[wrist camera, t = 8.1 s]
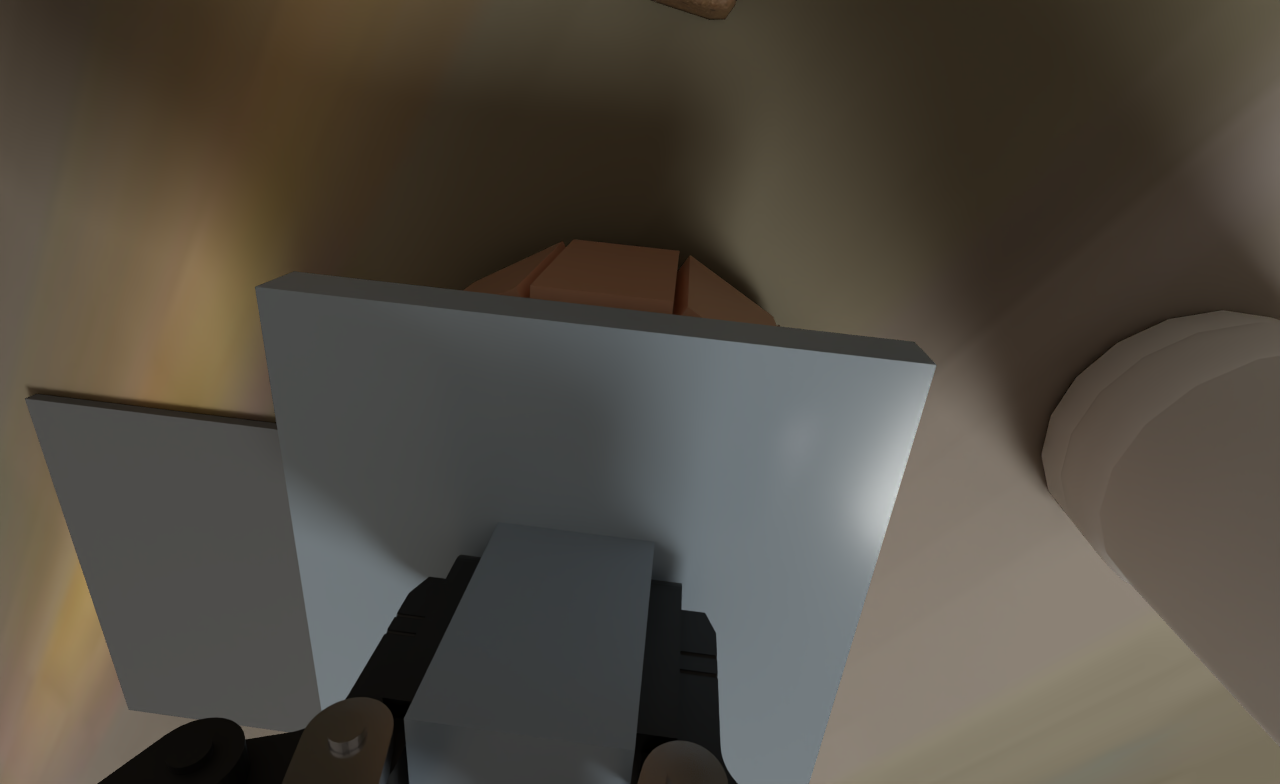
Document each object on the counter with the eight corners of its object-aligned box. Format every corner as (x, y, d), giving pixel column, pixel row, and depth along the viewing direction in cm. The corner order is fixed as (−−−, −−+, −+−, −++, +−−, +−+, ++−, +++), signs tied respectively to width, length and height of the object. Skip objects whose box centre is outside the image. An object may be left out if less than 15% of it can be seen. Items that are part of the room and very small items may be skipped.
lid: (293, 271, 12) (-5, 389, 7) (914, 342, 12) (1088, 523, 7) (350, 706, 17) (198, 969, 12) (792, 768, 17) (837, 1067, 12)
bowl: (424, 215, 18) (309, 260, 13) (840, 261, 18) (903, 327, 13) (439, 550, 23) (360, 684, 18) (766, 592, 23) (788, 743, 17)
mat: (35, 394, 22) (24, 398, 22) (434, 442, 22) (429, 448, 21) (136, 701, 28) (128, 709, 28) (447, 745, 28) (444, 754, 27)
